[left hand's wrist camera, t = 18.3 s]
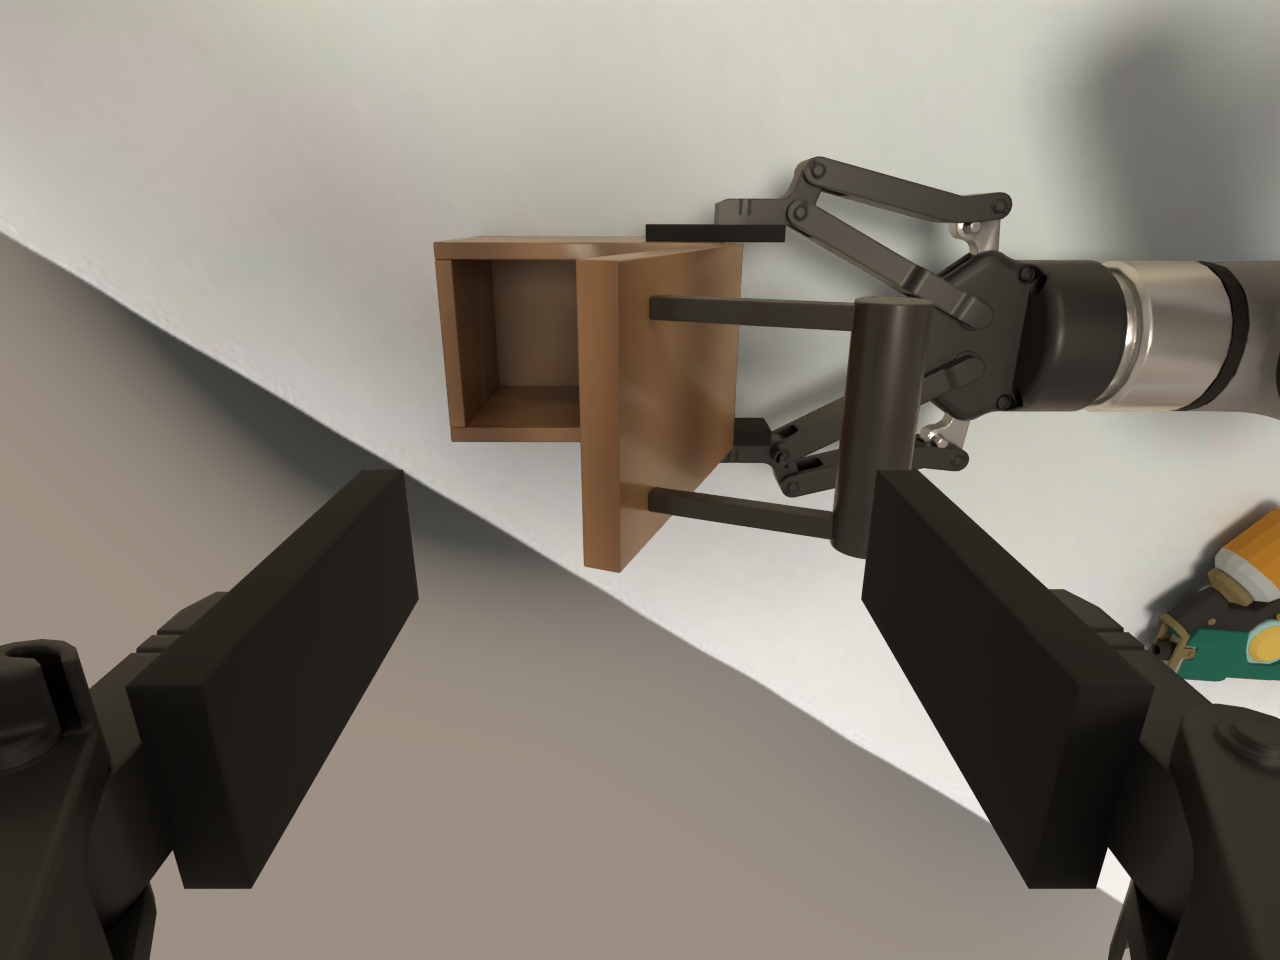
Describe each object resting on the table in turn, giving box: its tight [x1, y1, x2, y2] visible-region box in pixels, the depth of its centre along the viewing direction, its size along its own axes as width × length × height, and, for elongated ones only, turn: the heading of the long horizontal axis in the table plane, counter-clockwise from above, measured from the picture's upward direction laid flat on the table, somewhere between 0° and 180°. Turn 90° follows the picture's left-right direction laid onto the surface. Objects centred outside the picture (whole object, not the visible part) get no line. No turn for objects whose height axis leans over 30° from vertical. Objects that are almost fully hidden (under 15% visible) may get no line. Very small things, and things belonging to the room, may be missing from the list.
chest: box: [434, 236, 724, 442], centre depth 38 cm, size 13×9×10 cm
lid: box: [576, 243, 934, 573], centre depth 26 cm, size 14×9×9 cm
